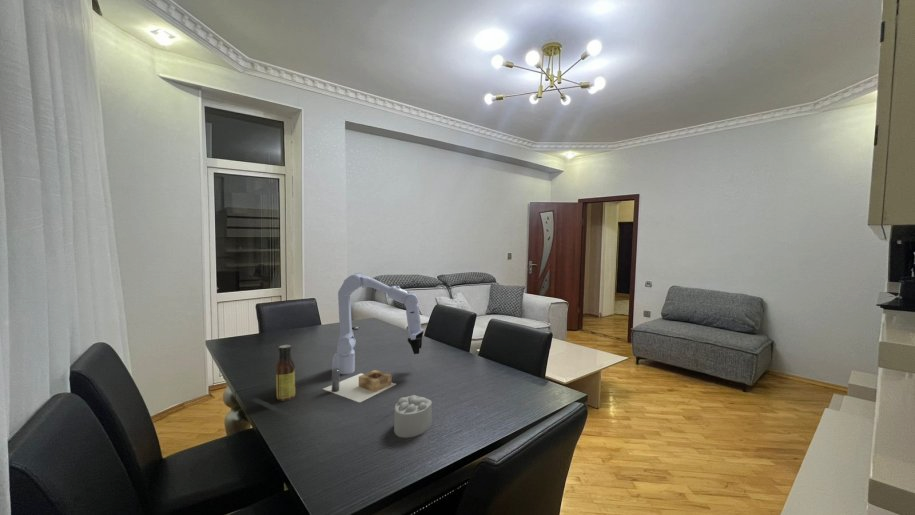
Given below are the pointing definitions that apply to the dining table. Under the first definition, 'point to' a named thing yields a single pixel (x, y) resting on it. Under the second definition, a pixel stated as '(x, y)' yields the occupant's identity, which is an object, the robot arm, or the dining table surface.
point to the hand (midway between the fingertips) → (417, 350)
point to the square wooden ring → (375, 380)
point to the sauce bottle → (285, 374)
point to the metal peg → (335, 379)
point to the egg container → (412, 416)
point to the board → (355, 389)
